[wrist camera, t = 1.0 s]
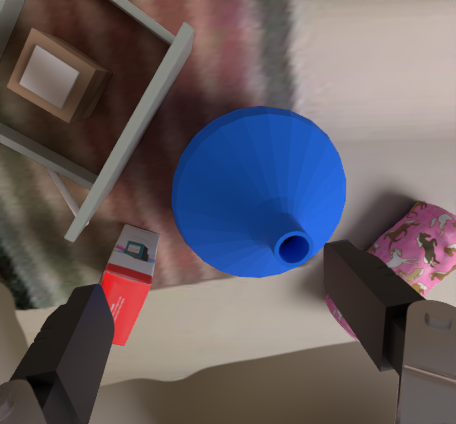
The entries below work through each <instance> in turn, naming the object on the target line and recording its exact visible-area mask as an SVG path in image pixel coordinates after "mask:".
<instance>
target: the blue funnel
mask: <svg viewBox="0 0 456 424" xmlns="http://www.w3.org/2000/svg"><path fill="white" fill-rule="evenodd" d="M345 201H346V178H345V174H344V170H343V166H342V162H341V159H340V156H339V154H338V152H337V150H336V149H335V147H334V145H333V144H332V142H331V140H330V139H329V137H328V135H327V134H326V133H324V132H323V131H322V130H321V129H320V128H319V127H318V126H317V125H316V124H314V123H313V122H312V121H311V120H309V119H307V118H305V117H303V116H301V115H299V114H296V113H294V112H292V111H290V110H285V109H277V108H270V107H263V106H257V107H250V108H243V109H236V110H234V111H232V112H229V113H227V114H225V115H223V116H220V117H218V118H216V119H214V120H213V121H211V122H210V123H209V124H208V125H206V126H205V127H204V128H203V129H202V130H200V131H199V132H198V133H197V134H195V136H194V137H193V139H192V140H191V141H190V143H189V144H188V146H187V147H186V149H185V150H184V151H183V153H182V155H181V157H180V160H179V163H178V166H177V168H176V171H175V174H174V178H173V187H172V201H171V204H172V209H173V213H174V218H175V223H176V226H177V228H178V229H179V231H180V233H181V235H182V237H183V239H184V241H185V242H186V244H187V245H188V246H189V247H190V248H191V249H192V250H193V251H194V252H195V253H196V254H197V255H198V256H199V257H200V258H201V259H202V260H203V261H204V262H206V263H208V264H209V265H211V266H213V267H215V268H216V269H218V270H220V271H222V272H225V273H229V274H232V275H236V276H239V277H256V278H261V277H266V276H272V275H277V274H281V273H283V272H286V271H288V270H291V269H293V268H295V267H298V266H299V265H302V264H303V263H305V262H306V261H307V260H308V259H309V258H311V257H312V256H314V255H315V254H316V253H317V252H318V251H319V250H320V249H321V248H322V247H323V246H324V244H325V243H326V242H327V241H328V240H329V239H330V237H331V235H332V234H333V232H334V230H335V228H336V227H337V225H338V223H339V221H340V218H341V215H342V211H343V208H344V204H345Z"/></svg>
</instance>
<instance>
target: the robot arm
mask: <svg viewBox="0 0 456 424" xmlns="http://www.w3.org/2000/svg"><path fill="white" fill-rule="evenodd" d="M324 284H325V288H326V291H327V293H328V295H329V297H330V298H331V300H332V301H333V303H334V304H335V306H336V307H337V309H338V310H339V312H340V313H341V315H342V316H343V318H344V319H345V321H346V322H347V324H348V325H349V327H350V328H351V329H352V331H353V332H354V334H355V335H356V337H357V338H358V340H359V341H360V343H361V344H362V346H363V347H364V349H365V350H366V352H367V353H368V355H369V356H370V357H371V359H372V360H373V362H374V363H375V365H376V366H377V368H378V369H379V371H380V372H381V371H386V370H391V369H395V370H396V372H397V373H398V375H399V383H398V394H397V406H396V417H395V424H456V307H454V306H452V305H449V304H447V303H444V302H440V301H434V300H426V299H425V298H424V297H423V296H421V295H420V294H419V293H418V292H417V291H416V290H415V289H414V288H412V287H411V286H410V285H409V284H408V283H407V282H406V281H405V280H403V279H402V278H401V277H400V276H399V275H396V272H394V271H393V270H392V269H391V268H390V267H388V265H387V264H385V263H384V262H383V261H382V260H381V259H380V258H379V257H377V256H375V255H373V254H371V253H369V252H366V251H364V250H363V251H358V250H357V249H356V248H355V247H354V246H353V245H352V244H351V243H350V242H349V241H348V240H341V241H335V242H330V243H325V245H324ZM40 330H41V331H40V332H39V333H38V334H37V336H36V337H35V339H34V343H32V344H31V346H30V347H29V349H28V351H27V352H26V354H25V356H24V357H23V359H22V361H21V362H20V364H19V365H18V367H17V369H16V370H15V372H14V374H13V376H12V377H11V379H10V380H9V381H8V382H5V383H3V384H1V385H0V424H88V423H89V420H90V416H91V413H92V409H93V406H94V403H95V399H96V396H97V392H98V389H99V386H100V382H101V379H102V376H103V372H104V369H105V365H106V362H107V359H108V355H109V352H110V348H111V345H112V342H113V338H114V333H115V325H114V319H113V316H112V313H111V310H110V307H109V304H108V302H107V299H106V296H105V293H104V290H103V288H102V286H101V285H100V284H92V285H87V286H81V287H76V288H75V289H74V290H73V292H72V294H71V296H70V297H69V299H68V301H67V303H66V304H64V305H60V306H59V307H58V308H57V309H56V310H55V311H54V312H53V313H52V314H51V315H50V316H48V318H47V319H46V321H45V323H44V324H43V326H42V328H41V329H40Z"/></svg>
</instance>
